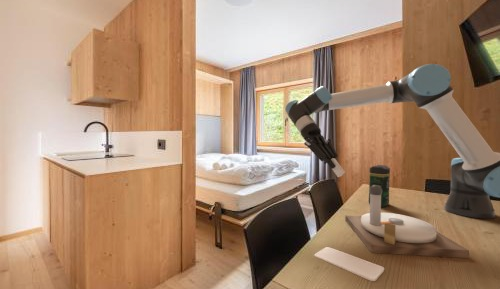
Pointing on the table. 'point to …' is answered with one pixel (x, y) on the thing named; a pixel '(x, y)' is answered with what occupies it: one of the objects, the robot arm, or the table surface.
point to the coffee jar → (380, 181)
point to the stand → (389, 245)
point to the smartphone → (351, 263)
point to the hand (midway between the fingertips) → (341, 174)
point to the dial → (395, 222)
